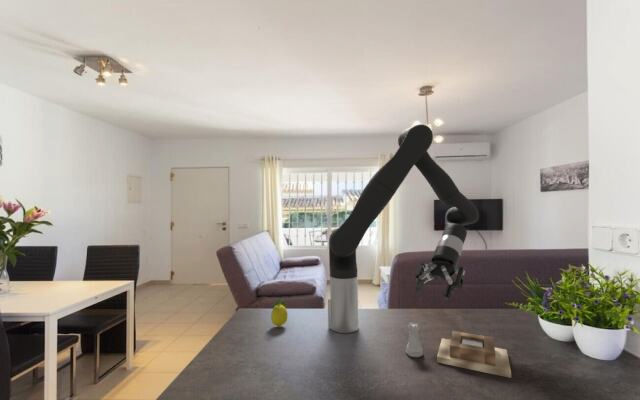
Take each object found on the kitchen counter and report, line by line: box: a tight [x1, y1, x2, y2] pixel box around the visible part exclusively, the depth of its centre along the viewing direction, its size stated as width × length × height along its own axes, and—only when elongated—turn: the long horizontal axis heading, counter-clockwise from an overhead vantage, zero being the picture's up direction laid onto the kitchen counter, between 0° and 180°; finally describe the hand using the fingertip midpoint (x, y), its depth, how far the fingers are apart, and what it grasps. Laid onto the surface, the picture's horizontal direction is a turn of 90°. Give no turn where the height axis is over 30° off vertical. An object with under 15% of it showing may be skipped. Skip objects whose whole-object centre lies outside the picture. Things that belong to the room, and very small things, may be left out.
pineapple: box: [270, 299, 288, 328], centre depth 100 cm, size 7×6×10 cm
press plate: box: [462, 338, 483, 347], centre depth 77 cm, size 5×5×1 cm
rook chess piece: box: [405, 321, 424, 358], centre depth 80 cm, size 4×4×8 cm
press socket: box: [436, 330, 512, 379], centre depth 77 cm, size 16×12×4 cm
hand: (431, 294), depth 88 cm, fingers open, 8 cm apart
